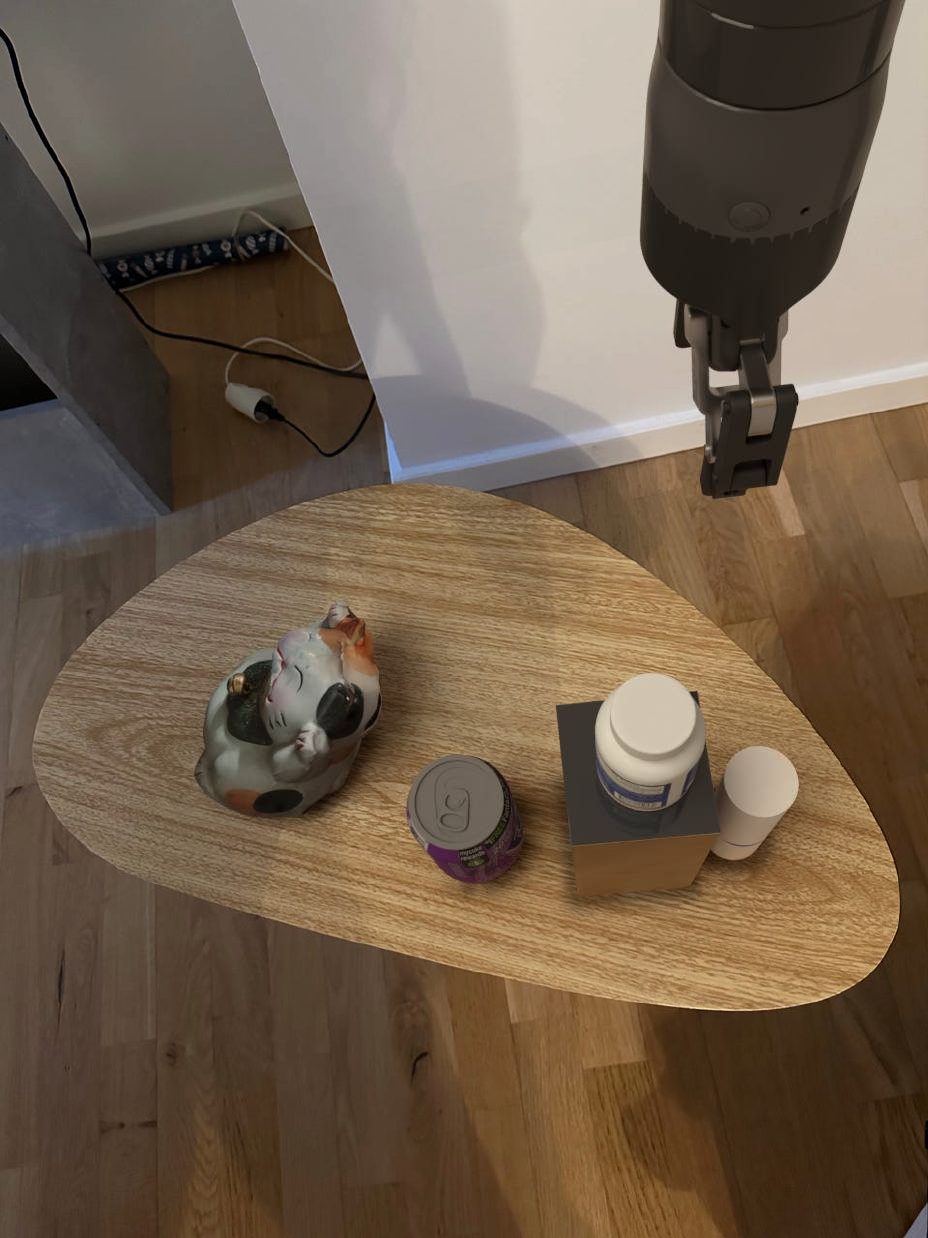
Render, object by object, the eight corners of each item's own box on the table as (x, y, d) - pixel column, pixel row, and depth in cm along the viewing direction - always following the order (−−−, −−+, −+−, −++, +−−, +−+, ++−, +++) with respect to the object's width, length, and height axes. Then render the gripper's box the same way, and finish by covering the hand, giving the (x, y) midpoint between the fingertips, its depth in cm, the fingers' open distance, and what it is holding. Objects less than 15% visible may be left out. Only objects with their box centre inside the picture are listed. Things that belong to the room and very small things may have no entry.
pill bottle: (656, 699, 58) (666, 637, 49) (714, 778, 56) (736, 727, 47) (576, 751, 58) (571, 697, 49) (632, 832, 56) (638, 791, 47)
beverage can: (515, 892, 75) (500, 865, 64) (420, 876, 76) (390, 847, 65) (531, 797, 78) (519, 755, 67) (439, 782, 79) (412, 739, 68)
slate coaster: (696, 692, 59) (697, 690, 58) (719, 834, 56) (720, 832, 55) (555, 707, 59) (555, 704, 59) (570, 847, 56) (570, 846, 56)
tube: (728, 788, 76) (756, 731, 62) (774, 829, 75) (813, 780, 61) (689, 830, 75) (708, 782, 62) (735, 872, 74) (766, 832, 60)
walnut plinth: (673, 777, 77) (696, 692, 59) (690, 887, 74) (719, 834, 56) (566, 787, 78) (555, 707, 59) (577, 897, 75) (570, 847, 56)
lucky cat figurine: (233, 643, 85) (265, 543, 75) (370, 691, 87) (421, 600, 77) (170, 803, 76) (196, 715, 66) (325, 853, 78) (375, 775, 68)
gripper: (915, 296, 33) (816, 532, 47) (823, -14, 38) (760, 285, 53) (675, 327, 33) (651, 551, 48) (619, 19, 39) (613, 305, 54)
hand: (708, 411), depth 50 cm, fingers open, 8 cm apart
